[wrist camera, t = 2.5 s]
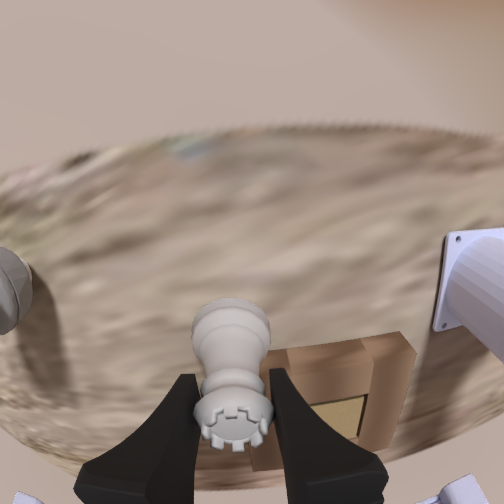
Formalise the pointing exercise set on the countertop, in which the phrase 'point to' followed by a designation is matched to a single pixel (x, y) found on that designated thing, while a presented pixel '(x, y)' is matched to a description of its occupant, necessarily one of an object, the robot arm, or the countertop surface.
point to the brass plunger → (341, 414)
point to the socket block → (344, 386)
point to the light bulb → (13, 290)
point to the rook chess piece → (232, 373)
